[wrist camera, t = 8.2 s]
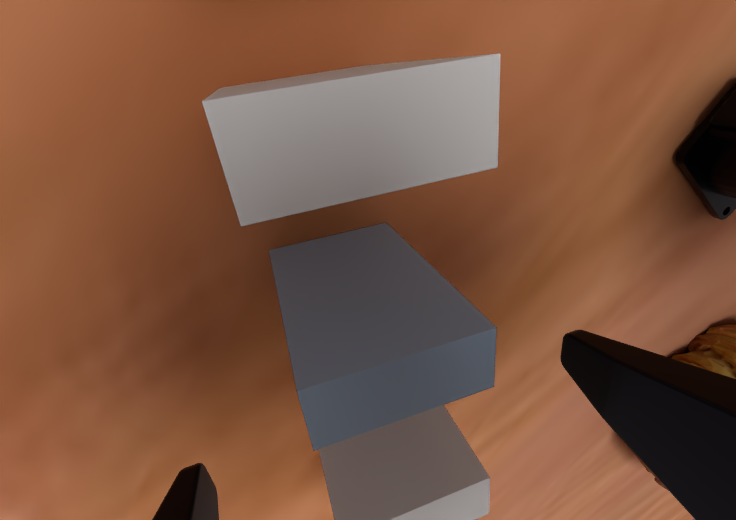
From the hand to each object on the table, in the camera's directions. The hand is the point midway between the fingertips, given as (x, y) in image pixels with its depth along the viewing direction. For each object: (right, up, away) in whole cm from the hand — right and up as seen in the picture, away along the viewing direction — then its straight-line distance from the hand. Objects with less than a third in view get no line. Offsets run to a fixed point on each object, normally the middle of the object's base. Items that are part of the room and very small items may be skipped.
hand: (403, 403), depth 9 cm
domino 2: (-2, +3, +7) cm, 8 cm away
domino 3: (-2, -2, +10) cm, 10 cm away
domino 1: (-3, +9, +4) cm, 10 cm away
